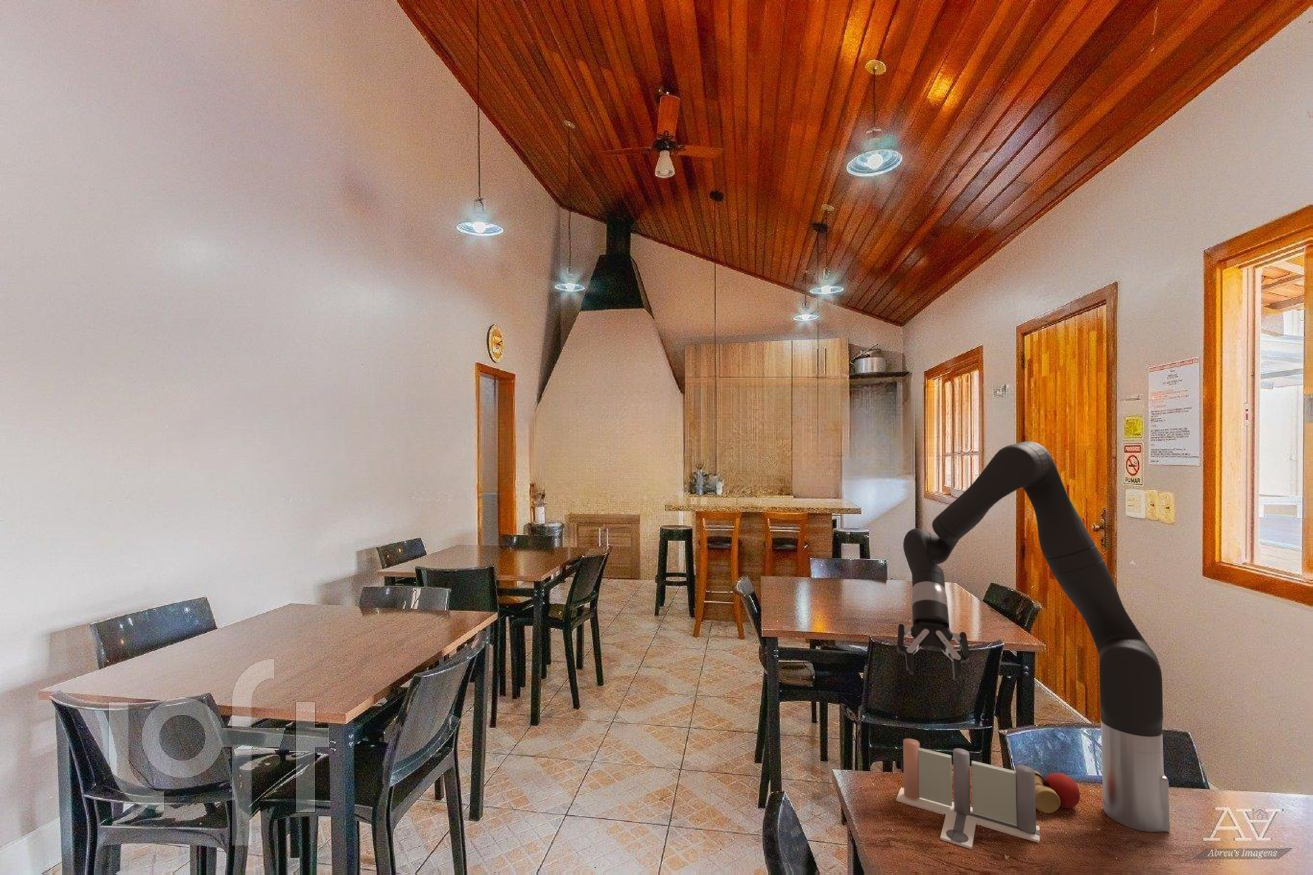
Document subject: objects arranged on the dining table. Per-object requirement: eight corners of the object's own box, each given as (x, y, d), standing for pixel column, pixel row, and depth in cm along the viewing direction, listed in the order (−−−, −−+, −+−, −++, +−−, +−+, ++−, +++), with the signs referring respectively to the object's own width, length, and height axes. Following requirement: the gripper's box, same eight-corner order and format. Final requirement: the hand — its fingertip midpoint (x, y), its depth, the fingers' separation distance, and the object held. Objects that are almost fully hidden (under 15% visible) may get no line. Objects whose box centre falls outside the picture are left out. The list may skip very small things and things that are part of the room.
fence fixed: (1036, 827, 109) (1034, 765, 109) (1036, 836, 106) (1034, 772, 107) (955, 804, 116) (954, 746, 116) (953, 812, 113) (952, 753, 114)
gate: (952, 802, 116) (951, 748, 117) (950, 809, 114) (950, 754, 114) (905, 788, 121) (904, 737, 121) (902, 795, 118) (901, 742, 119)
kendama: (993, 820, 114) (1093, 814, 112) (985, 784, 116) (1083, 777, 113) (978, 804, 122) (1071, 798, 119) (971, 771, 123) (1063, 764, 121)
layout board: (1039, 828, 109) (1039, 825, 109) (1040, 870, 98) (1040, 867, 98) (901, 789, 122) (901, 786, 122) (887, 822, 111) (887, 820, 111)
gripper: (897, 594, 135) (898, 663, 125) (966, 602, 131) (974, 674, 120) (895, 610, 140) (896, 677, 130) (961, 618, 136) (968, 688, 125)
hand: (933, 676), depth 125 cm, fingers open, 8 cm apart
